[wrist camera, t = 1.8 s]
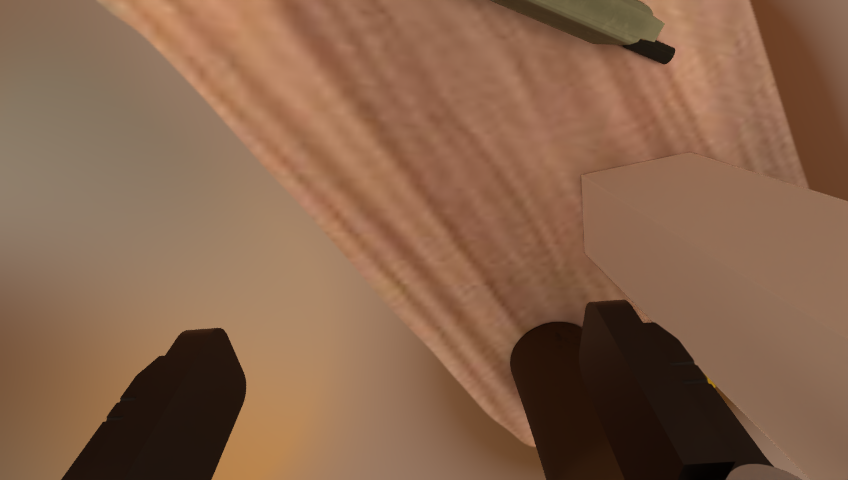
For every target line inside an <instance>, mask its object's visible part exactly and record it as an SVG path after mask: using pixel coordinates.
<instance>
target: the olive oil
mask: <svg viewBox="0 0 848 480" xmlns="http://www.w3.org/2000/svg"><path fill="white" fill-rule="evenodd" d="M581 336H582V328H580V327H578V326H576V325H574V324H570V323H562V322H558V323H550V324H545V325H542V326H540V327H537V328H535V329H533V330H532V331H530V332H529V333H527V334H526V335H525V336H524V337H523V338H522V339H521V340H520V341H519V342H518V343H517V345H516V346H515V348H514V350H513V352H512V355H511V361H510V365H511V371H512V375H513V378H514V381H515V383H516V386H517V389H518V392H519V395H520V398H521V401H522V404H523V407H524V410H525V413H526V416H527V419H528V422H529V425H530V429H531V432H532V435H533V438H534V441H535V444H536V448H537V450H538V454H539V457H540V460H541V463H542V467H543V470H544V473H545V477H546V480H625V479H624V477H623V474H622V472H621V470H620V467H619V465H618V462H617V460H616V458H615V455H614V453H613V451H612V448H611V446H610V443H609V441H608V439H607V436H606V434H605V431H604V429H603V427H602V424H601V422H600V420H599V417H598V415H597V412H596V410H595V408H594V405H593V403H592V400H591V398H590V396H589V393H588V391H587V389H586V386H585V384H584V381H583V378H582V375H581V371H580V365H579V349H580V342H581Z"/></svg>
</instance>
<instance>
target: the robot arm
mask: <svg viewBox="0 0 848 480" xmlns="http://www.w3.org/2000/svg"><path fill="white" fill-rule="evenodd" d="M579 365H580V371H581V375H582V378H583V381H584V384H585V386H586V389H587V391H588V393H589V396H590V398H591V400H592V403H593V405H594V408H595V410H596V412H597V415H598V417H599V420H600V422H601V424H602V427H603V429H604V431H605V434H606V436H607V439H608V441H609V443H610V446H611V448H612V451H613V453H614V455H615V458H616V460H617V462H618V465H619V467H620V470H621V472H622V474H623V477H624V479H625V480H801V479H800V478H798V477H797V476H794V475H793V474H791V473H789V472H787V471H784V470H781V469H778V468H775V467H774V466H773V465H772V464H771V463H770V462H769V461H768V460H767V458H766V457H765V456H764V454H763V453H762V452H761V450H760V449H759V448H758V446H757V445H756V443H755V442H754V441H753V439H752V438H751V437H750V435H749V434H748V433H747V431H746V430H745V429H744V427H743V426H742V425H741V423H740V422H739V421H738V419H737V418H736V416H735V415H734V414H733V412H732V411H731V410H730V408H729V407H728V406H727V404H726V403H725V402H724V400H723V399H722V397H721V396H720V395H719V393H718V392H717V391H716V389H715V388H714V387H713V385H712V384H709V383H708V379H707V377H706V376H705V374H704V373H703V372H702V370H701V369H700V368H699V366H698V365H695V363H694V360H693V358H692V357H691V356H690V354H689V353H688V351H687V350H686V349H685V347H684V346H683V345H682V343H681V342H680V341H679V339H677V338H676V337H675V336H673V335H672V334H671V333H669V332H668V331H666V330H665V329H664V328H662V327H661V326H660V325H658V324H657V323H656V322H652V323H643V322H642V321H641V319H640V318H639V316H638V315H637V313H636V312H635V310H634V309H633V307H632V306H631V304H630V303H629V302H628V301H626V300H613V301H599V302H589V303H588V304H587V306H586V309H585V315H584V322H583V329H582V336H581V342H580V349H579ZM245 394H246V379H245V375H244V372H243V370H242V368H241V365H240V363H239V361H238V359H237V356H236V354H235V352H234V349H233V347H232V345H231V343H230V340H229V338H228V336H227V334H226V332H225V331H224V330H223V329H221V328H212V329H198V330H186V331H184V332H182V333H181V334H180V335H179V336H178V338H177V339H176V340H175V342H174V343H173V345H172V346H171V348H170V349H169V351H168V352H167V354H166V355H165V356H159V357H158V358H157V359H155V361H153V362H152V363H151V364H150V365H148V366H147V367H146V368H145V369H144V370H142V371H141V372H140V373H139V374H138V375H137V376H136V377H135V378H134V380H133V381H132V382H131V384H130V385H129V387H128V388H127V389H126V391H125V392H124V394H123V395H122V396H121V398H120V399H121V401H120V402H119V403H116V405H115V406H114V407H113V409H112V410H111V412H110V413H109V414H108V416H107V421H106V422H103V423H102V424H101V425H100V427H99V428H98V430H97V431H96V432H95V434H94V435H93V436H92V438H91V439H90V441H89V442H88V443H87V445H86V446H85V448H84V449H83V450H82V452H81V453H80V454H79V456H78V457H77V459H76V460H75V461H74V463H73V464H72V466H71V467H70V468H69V470H68V471H67V472H66V474H65V475H64V477H63V478H62V479H61V480H211V479H212V477H213V474H214V472H215V470H216V467H217V465H218V463H219V460H220V457H221V455H222V453H223V450H224V448H225V446H226V443H227V441H228V438H229V436H230V434H231V431H232V429H233V427H234V424H235V422H236V419H237V417H238V415H239V412H240V410H241V407H242V405H243V402H244V399H245Z"/></svg>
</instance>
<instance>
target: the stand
mask: <svg viewBox="0 0 848 480" xmlns="http://www.w3.org/2000/svg"><path fill="white" fill-rule="evenodd" d="M581 186H582V209H583V232H584V253H585V254H586V255H587V256H588V257H589V258H590V259H591V260H592V261H593V262H594V263H595V264H596V265H597V266H598V267H599V268H600V269H601V270H602V271H603V272H604V273H605V274H606V275H607V276H608V277H609V278H610V279H611V280H612V281H613V282H614V283H615V284H616V285H617V286H618V287H619V288H620V289H621V290H622V291H623V292H624V293H625V294H626V295H627V296H628V297H629V298H630V299H631V300H632V301H633V302H634V303H635V304H636V305H637V306H638V307H639V308H640V309H641V310H642V311H643V312H644V313H645V314H646V315H647V316H648V317H649V318H650V319H651V320H652V321H653V322H656V323H657V324H658V325H660V326H661V327H662V328H664V329H665V330H666V331H668V332H669V333H671V334H672V335H673V336H675V337H676V338H677V339H679V341H680V342H681V343H682V345H683V346H684V347H685V349H686V350H687V351H688V353H689V354H690V356H691V357H692V358H693V360H694V363H695V365H698V366H699V368H700V369H701V370H702V372H703V373H704V374H705V375H706V376H707V377H708V378H709V379H710V380H711V381H712V382H713V383H714V384H715V385H716V386H717V387H718V388H719V389H720V390H721V391H722V392H723V393H724V394H725V395H726V396H727V397H728V398H729V399H730V400H731V401H732V402H733V403H734V404H735V405H736V406H737V407H738V408H739V409H740V410H741V411H742V412H743V413H744V414H745V415H746V416H747V417H748V418H749V419H750V420H751V421H752V422H753V423H754V424H755V425H756V426H757V427H758V428H759V429H760V430H761V431H762V432H763V433H764V434H765V435H766V436H767V437H768V438H769V439H770V440H771V441H772V442H773V443H774V444H775V445H776V446H777V447H778V448H779V449H780V450H781V451H782V452H783V453H784V454H785V455H786V456H787V457H788V458H789V459H790V460H791V461H792V462H793V463H794V464H795V465H796V466H797V467H798V468H799V469H800V470H801V471H802V472H803V473H804V474H805V475H806V476H807V477H808V478H809V479H810V480H848V201H845V200H841V199H838V198H835V197H832V196H829V195H826V194H822V193H819V192H816V191H813V190H810V189H807V188H803V187H800V186H797V185H794V184H791V183H787V182H784V181H781V180H778V179H775V178H771V177H768V176H765V175H762V174H759V173H756V172H752V171H749V170H746V169H743V168H740V167H736V166H733V165H730V164H727V163H724V162H720V161H717V160H714V159H711V158H708V157H705V156H701V155H698V154H695V153H692V152H687V153H683V154H678V155H673V156H668V157H664V158H659V159H654V160H649V161H645V162H640V163H635V164H630V165H626V166H621V167H616V168H611V169H607V170H602V171H597V172H592V173H588V174H583V175H581Z"/></svg>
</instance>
